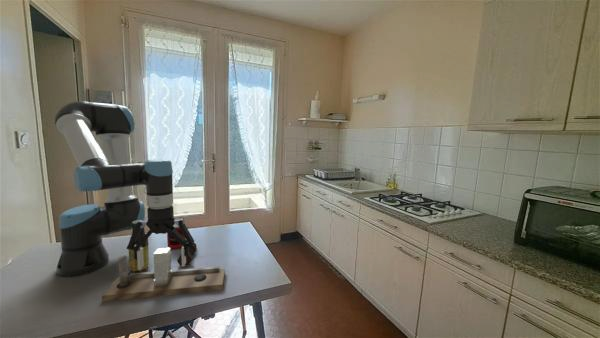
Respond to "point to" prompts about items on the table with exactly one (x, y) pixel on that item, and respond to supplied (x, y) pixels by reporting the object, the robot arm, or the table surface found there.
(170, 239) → the canned food
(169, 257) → the block
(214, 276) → the board
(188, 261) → the bolt
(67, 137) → the robot arm
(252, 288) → the table surface
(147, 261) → the sauce bottle
